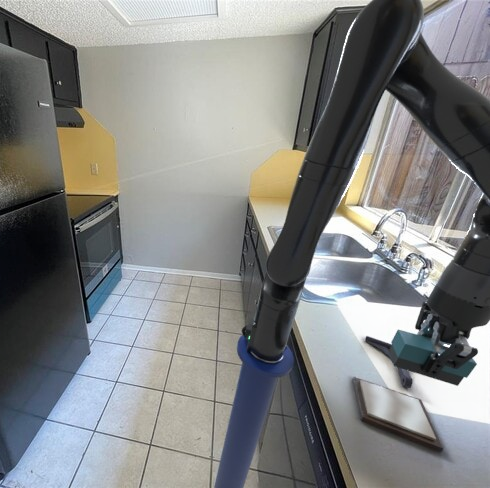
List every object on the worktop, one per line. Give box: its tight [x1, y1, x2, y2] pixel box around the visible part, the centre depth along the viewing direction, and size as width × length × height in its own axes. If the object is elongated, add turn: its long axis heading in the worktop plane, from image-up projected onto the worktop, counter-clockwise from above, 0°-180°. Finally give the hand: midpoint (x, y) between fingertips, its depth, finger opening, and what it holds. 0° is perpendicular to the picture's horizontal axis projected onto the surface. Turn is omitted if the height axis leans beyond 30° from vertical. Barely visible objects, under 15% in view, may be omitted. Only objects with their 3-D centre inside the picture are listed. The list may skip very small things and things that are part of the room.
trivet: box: [351, 376, 445, 453], centre depth 56 cm, size 13×11×2 cm
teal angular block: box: [388, 329, 478, 387], centre depth 50 cm, size 10×4×6 cm, turn 65°
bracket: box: [364, 335, 414, 389], centre depth 67 cm, size 14×15×3 cm
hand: (422, 363), depth 50 cm, fingers closed on teal angular block, 4 cm apart
